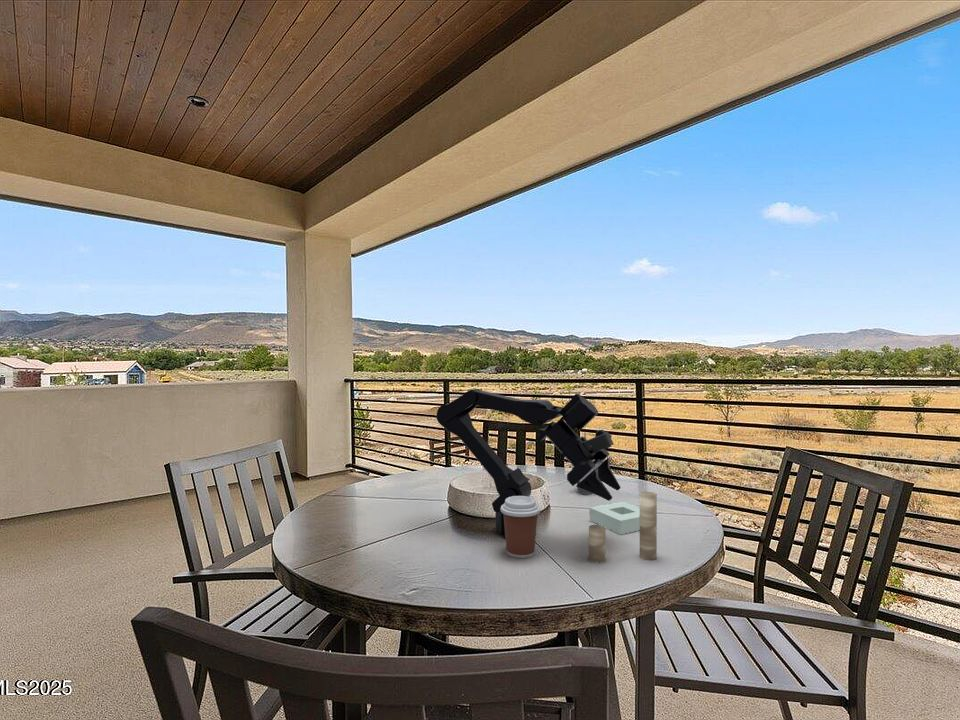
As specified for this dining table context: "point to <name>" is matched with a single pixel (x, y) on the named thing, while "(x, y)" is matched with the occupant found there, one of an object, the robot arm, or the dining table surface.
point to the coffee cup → (520, 525)
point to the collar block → (617, 517)
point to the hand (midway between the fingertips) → (615, 494)
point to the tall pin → (648, 525)
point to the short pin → (597, 543)
